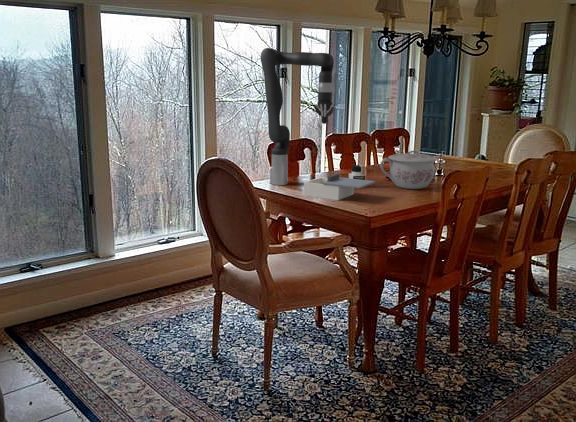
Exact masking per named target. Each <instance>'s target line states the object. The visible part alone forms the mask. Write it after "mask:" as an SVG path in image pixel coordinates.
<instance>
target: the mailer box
mask: <svg viewBox="0 0 576 422" xmlns="http://www.w3.org/2000/svg"><path fill="white" fill-rule="evenodd" d="M325 181H328V177H317V178H314V179H310V180H306V181H304V182H303V197H304V196H305V197H312V198H320V199H326V200H334V201H340V200H342V199H346V198H349V197H351V196H352V195H354V194H355V188H351V187H343V186H334V185H326V184H322V182H325Z"/></svg>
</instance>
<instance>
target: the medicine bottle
mask: <svg viewBox="0 0 576 422" xmlns="http://www.w3.org/2000/svg"><path fill="white" fill-rule="evenodd" d="M363 168H364V167H363V165H359V164H355V165H352V166H351V172H349V173H348V178H351V179H360V180H366V175H365V174H363ZM362 188H364V187H362ZM362 188H361V189H362Z"/></svg>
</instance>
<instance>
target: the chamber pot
mask: <svg viewBox="0 0 576 422" xmlns="http://www.w3.org/2000/svg"><path fill="white" fill-rule="evenodd" d="M438 160H439V158H438V157H436V156H433V155H429V154H424V153H419V152H418V151H417V150H410V151H408V152H406V153H397V154H392V155H389V156H387V157H384V158H382V159H381V161H380V164H379V167H380V170H381V172H382V173H383V174H384V175H386V176H387V177H388V178H389V179H390V180H391V181H392V183H394V185H395V186H396V187H398V188H401V189H405V190H422V189H425V188H428V186H429V185H430V184H431V182H432V181H433V180H434V176H435V171H436V170H435V169H436V168H435V165H434V164H435V162H437V161H438ZM385 162H388V163H389V173H388V172H387V171H386V170H385V169H384V164H385Z"/></svg>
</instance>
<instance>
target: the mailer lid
mask: <svg viewBox="0 0 576 422" xmlns="http://www.w3.org/2000/svg"><path fill="white" fill-rule="evenodd" d="M327 178H328V181H325V182H322V184H326V185H334V186H343V187H351V188H354V189H362V187H363V188H365V187H367V186H370V185H372V184H375V183H376V180H368V179H365V180H360V179H351V178H349V177H340V173H334V174H331V175H328V176H327Z"/></svg>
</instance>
